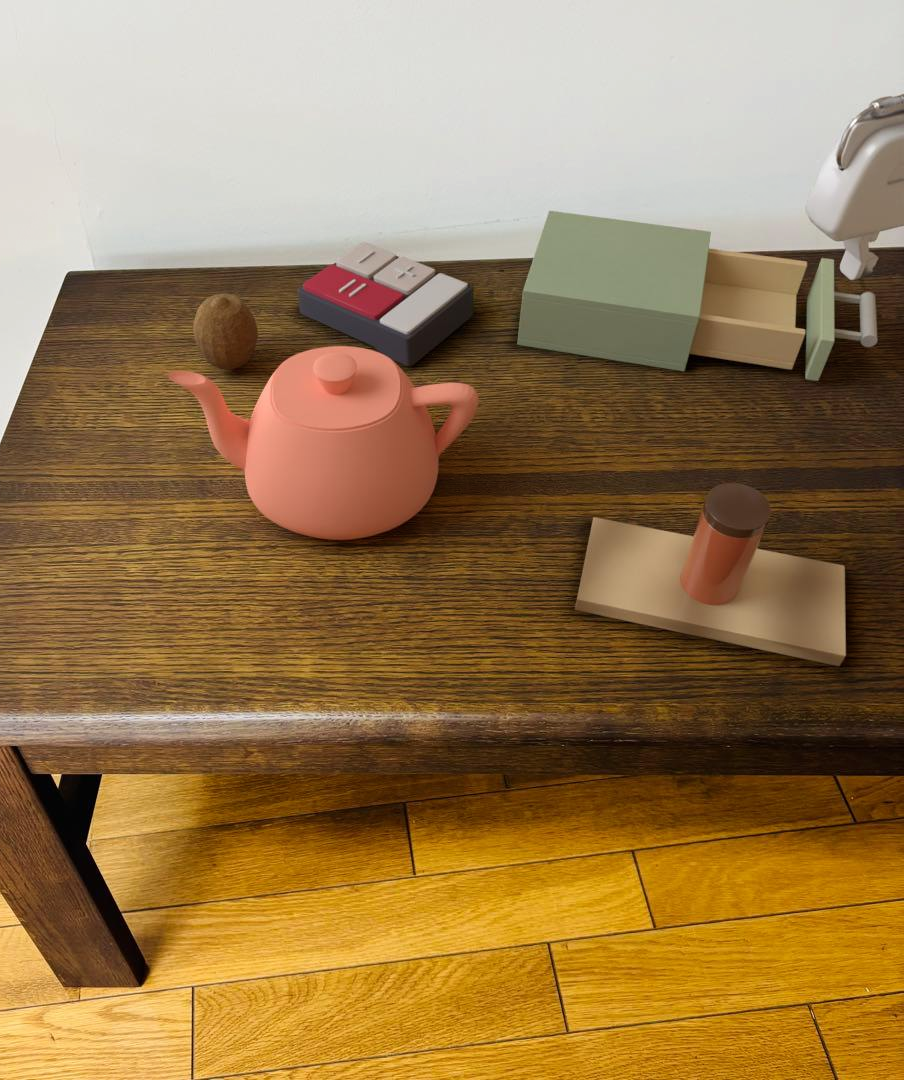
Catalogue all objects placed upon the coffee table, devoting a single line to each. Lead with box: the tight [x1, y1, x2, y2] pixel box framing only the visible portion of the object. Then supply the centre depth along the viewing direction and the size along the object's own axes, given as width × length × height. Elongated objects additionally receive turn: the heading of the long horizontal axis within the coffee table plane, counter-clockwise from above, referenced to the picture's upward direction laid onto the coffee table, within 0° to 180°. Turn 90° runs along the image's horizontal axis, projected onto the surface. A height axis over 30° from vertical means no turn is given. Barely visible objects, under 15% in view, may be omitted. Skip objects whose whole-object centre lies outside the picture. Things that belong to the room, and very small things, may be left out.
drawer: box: [689, 248, 878, 382], centre depth 98 cm, size 20×13×5 cm
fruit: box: [192, 293, 259, 370], centre depth 98 cm, size 6×6×8 cm
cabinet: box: [516, 210, 712, 372], centre depth 101 cm, size 17×15×7 cm
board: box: [574, 516, 847, 667], centre depth 80 cm, size 20×9×2 cm, turn 73°
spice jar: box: [680, 482, 772, 605], centre depth 76 cm, size 5×5×9 cm
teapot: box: [167, 345, 480, 541], centre depth 84 cm, size 25×17×13 cm
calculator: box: [297, 241, 474, 368], centre depth 104 cm, size 11×4×15 cm
